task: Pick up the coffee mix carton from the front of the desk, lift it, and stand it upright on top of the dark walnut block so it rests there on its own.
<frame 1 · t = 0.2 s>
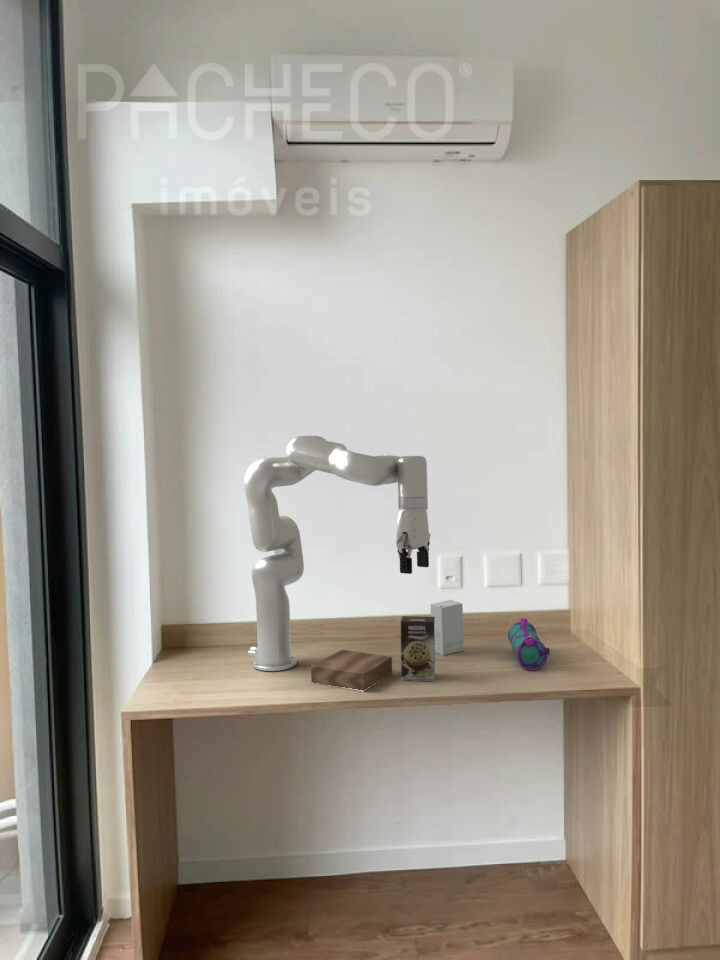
hand: (414, 570, 182), 31 cm above the table, tool pointing down, fingers open, 9 cm apart
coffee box: (418, 678, 190), on the table
pencil case: (527, 661, 203), on the table
skincare box: (447, 652, 213), on the table
walnut block: (352, 679, 191), on the table
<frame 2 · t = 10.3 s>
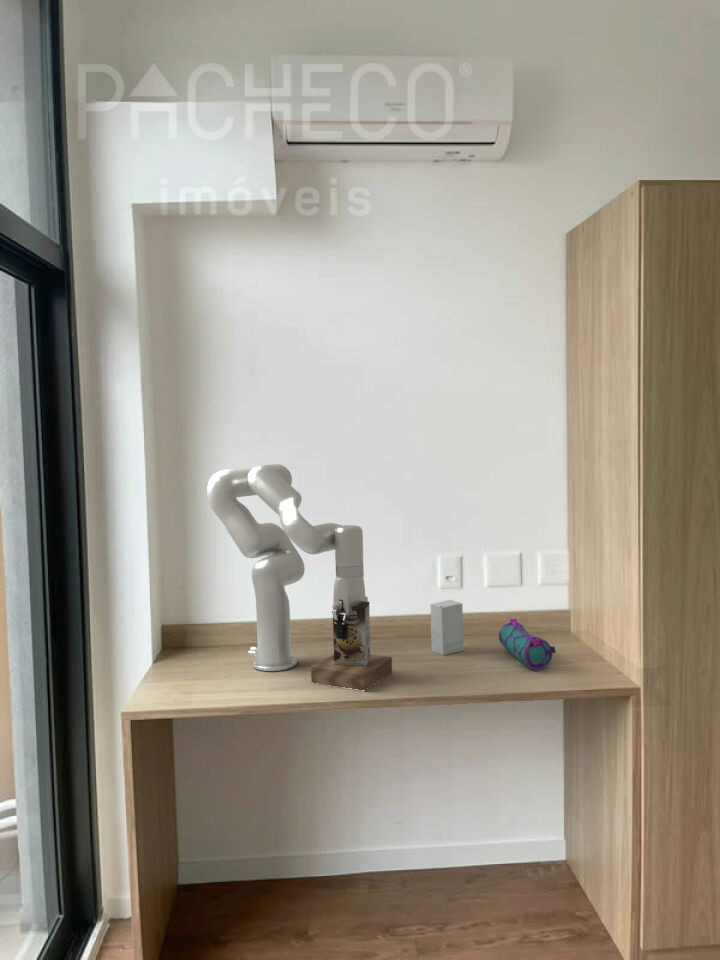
hand: (351, 634, 191), 12 cm above the table, tool pointing down, fingers open, 9 cm apart
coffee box: (352, 662, 191), point 4 cm above the table, touching walnut block
walnut block: (352, 680, 191), on the table, touching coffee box
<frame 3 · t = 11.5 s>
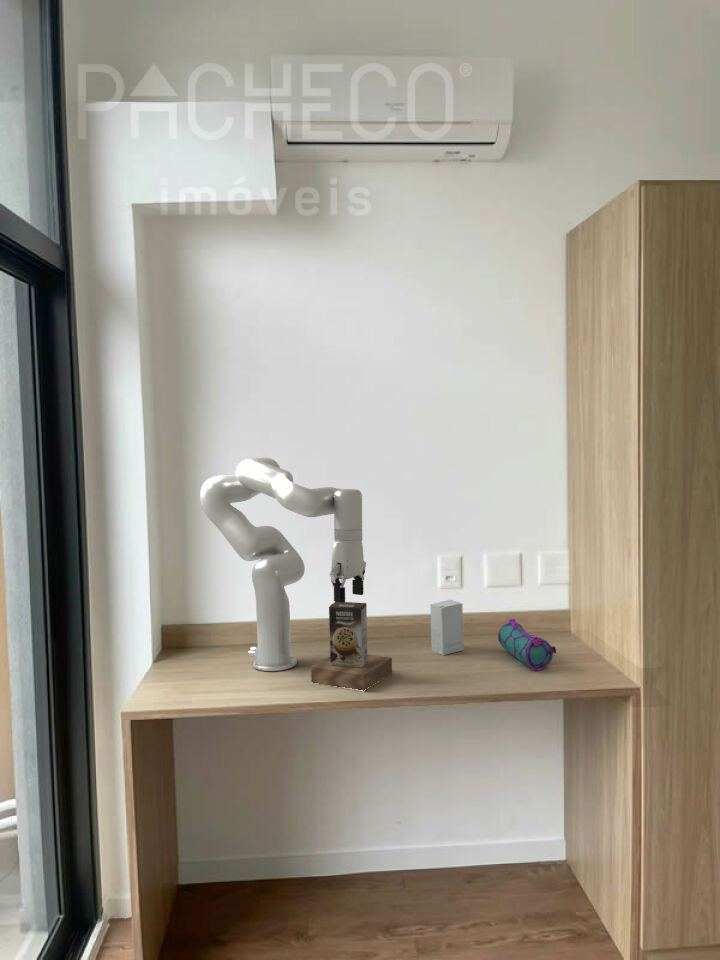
hand: (348, 598, 190), 22 cm above the table, tool pointing down, fingers open, 9 cm apart
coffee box: (349, 663, 190), point 4 cm above the table, touching walnut block
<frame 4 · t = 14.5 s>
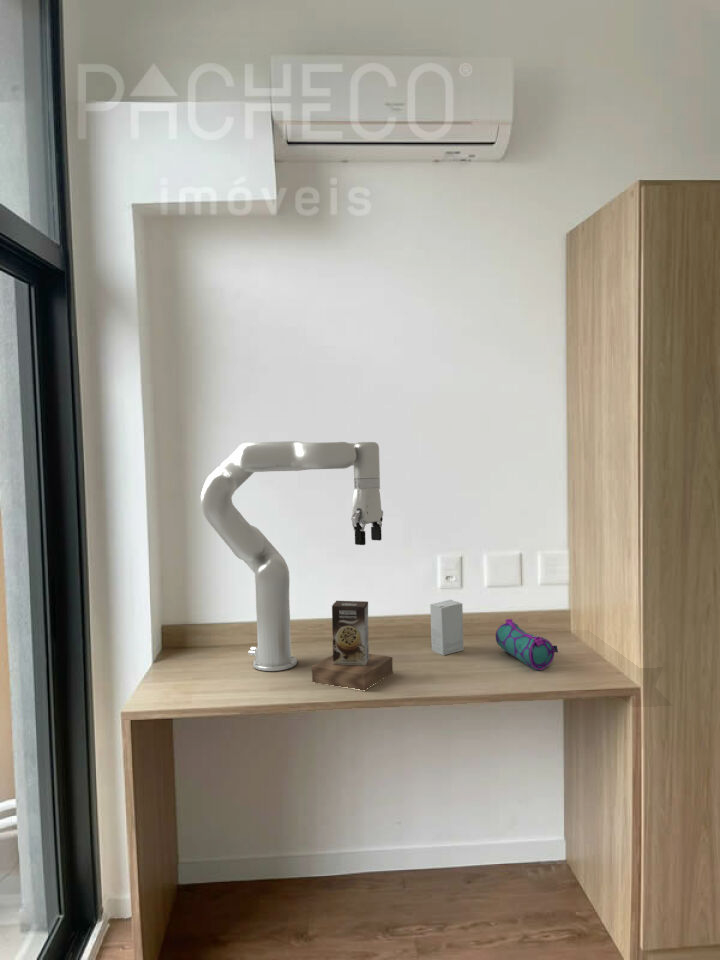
hand: (368, 542, 207), 34 cm above the table, tool pointing down, fingers open, 9 cm apart
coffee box: (351, 662, 191), point 4 cm above the table
walnut block: (353, 679, 192), on the table
at the end: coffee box inside the target area on the walnut block (0.4 cm from its centre), point 4.9 cm above the walnut block's base; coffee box tilted 1°; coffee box touching nothing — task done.
